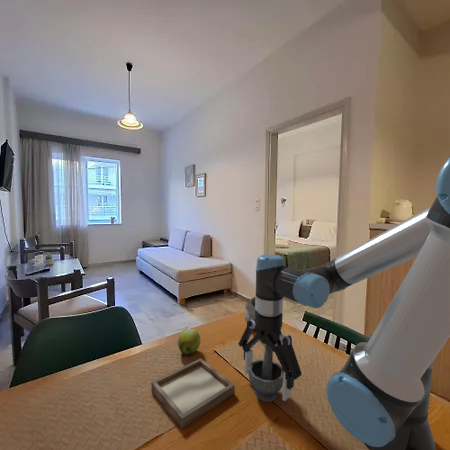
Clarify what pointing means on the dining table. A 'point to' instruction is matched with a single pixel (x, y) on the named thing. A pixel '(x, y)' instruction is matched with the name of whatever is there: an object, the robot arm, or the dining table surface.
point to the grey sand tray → (192, 391)
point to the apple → (189, 341)
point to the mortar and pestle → (266, 376)
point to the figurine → (250, 309)
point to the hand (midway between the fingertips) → (266, 384)
